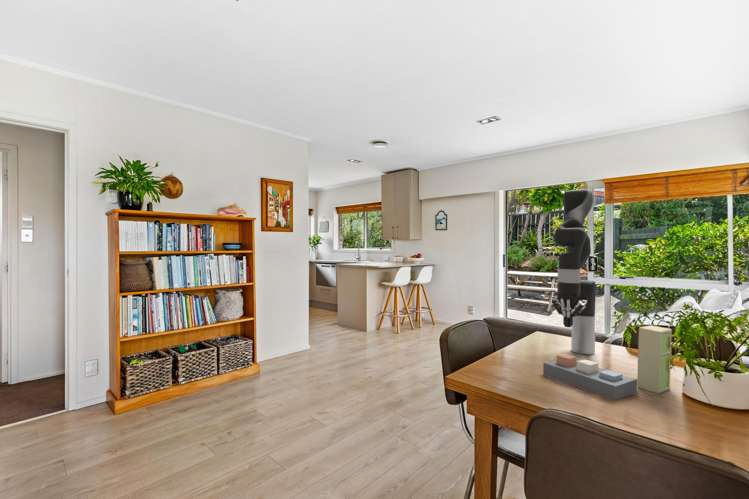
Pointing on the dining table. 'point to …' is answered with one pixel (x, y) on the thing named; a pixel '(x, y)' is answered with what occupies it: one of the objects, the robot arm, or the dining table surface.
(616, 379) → the blue key
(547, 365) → the console
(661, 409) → the dining table surface
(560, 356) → the terracotta key
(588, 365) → the ivory key
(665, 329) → the toy refrigerator
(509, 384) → the dining table surface
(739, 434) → the dining table surface
